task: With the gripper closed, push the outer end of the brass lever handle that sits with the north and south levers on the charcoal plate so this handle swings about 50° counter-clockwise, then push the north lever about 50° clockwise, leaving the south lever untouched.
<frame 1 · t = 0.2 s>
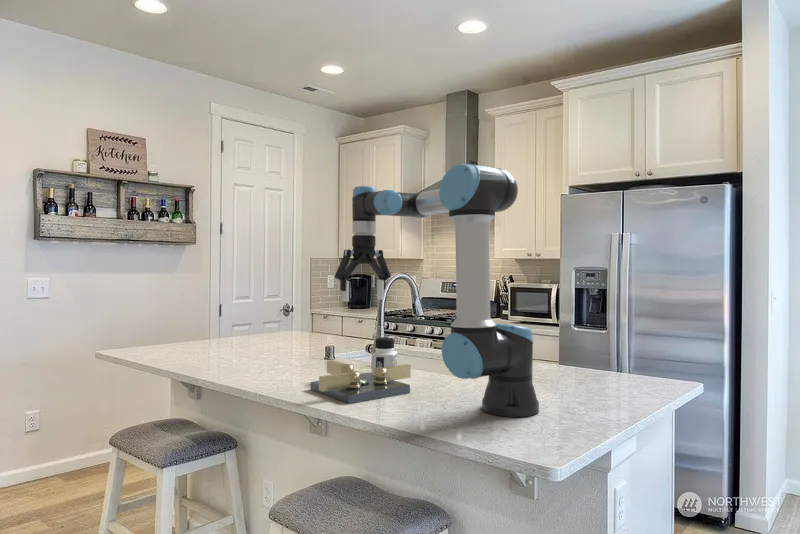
hand: (363, 300, 189), 27 cm above the countertop, fingers open, 13 cm apart
brass lever handle: (340, 369, 188), point 5 cm above the countertop, hinge at 0.0°
container: (384, 374, 206), on the countertop
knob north: (340, 381, 170), point 5 cm above the countertop, hinge at 0.0°
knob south: (392, 373, 182), point 5 cm above the countertop, hinge at 0.0°
tribrach plate: (359, 391, 179), on the countertop
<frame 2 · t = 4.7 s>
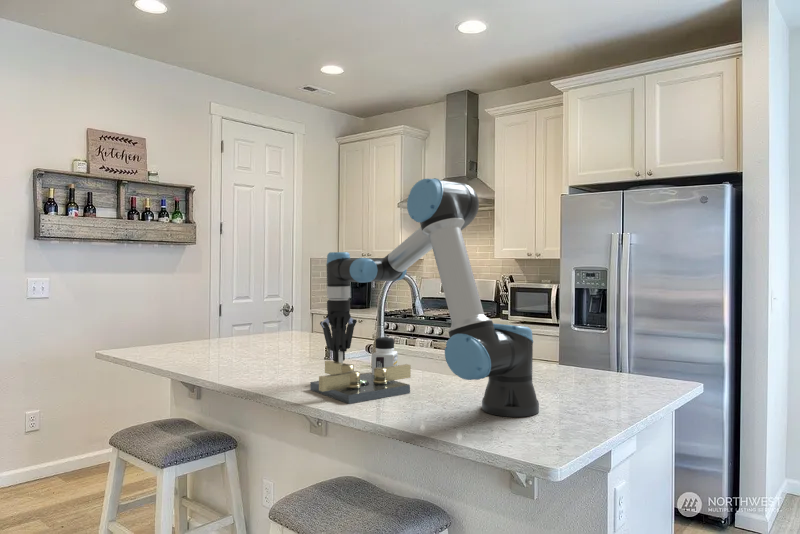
hand: (338, 371, 191), 4 cm above the countertop, fingers closed
brass lever handle: (339, 369, 188), point 5 cm above the countertop, hinge at 4.3°, touching gripper
everything else where it was.
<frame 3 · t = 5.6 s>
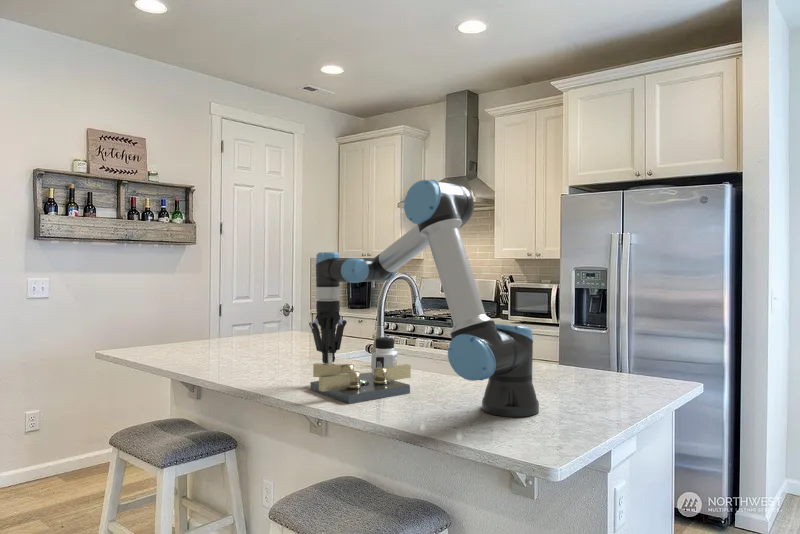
hand: (328, 372, 189), 4 cm above the countertop, fingers closed
brass lever handle: (334, 371, 186), point 5 cm above the countertop, hinge at 40.5°, touching gripper
everything else where it was.
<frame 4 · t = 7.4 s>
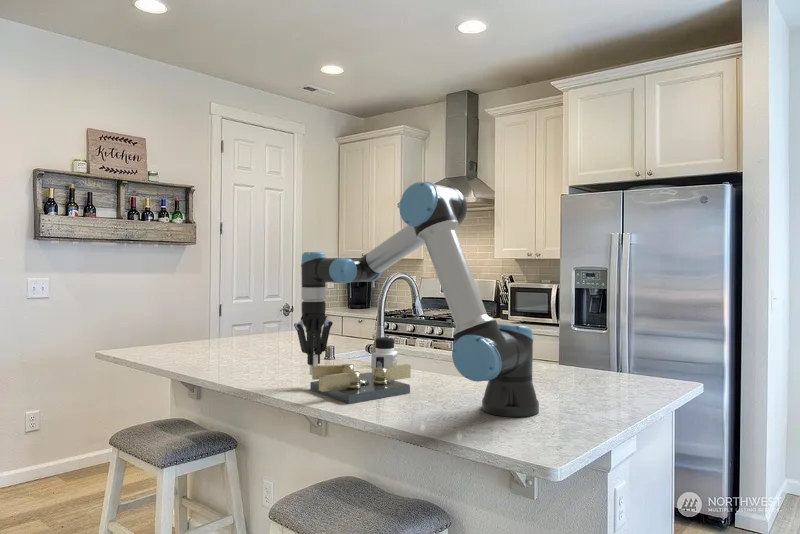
hand: (313, 374, 185), 4 cm above the countertop, fingers closed
brass lever handle: (333, 372, 184), point 5 cm above the countertop, hinge at 62.7°, touching gripper
everything else where it was.
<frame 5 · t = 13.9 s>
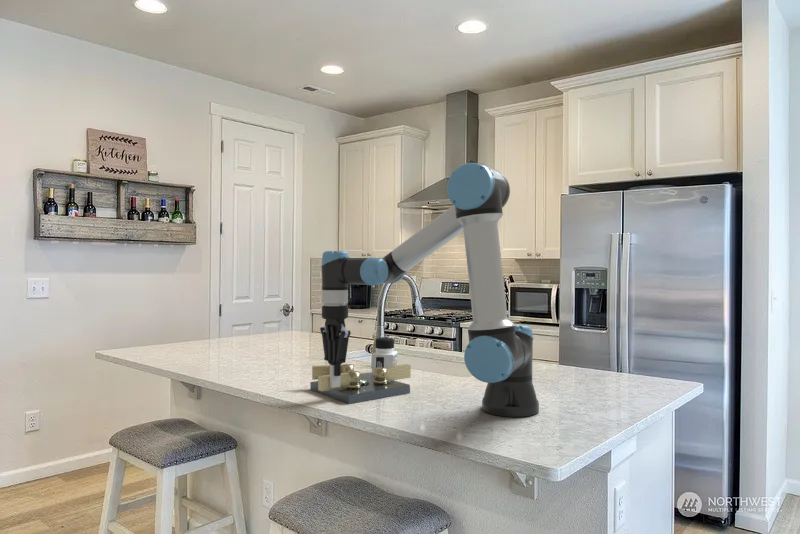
hand: (335, 386, 167), 4 cm above the countertop, fingers closed
brass lever handle: (333, 372, 184), point 5 cm above the countertop, hinge at 62.9°
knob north: (340, 381, 170), point 5 cm above the countertop, hinge at -2.9°, touching gripper
everything else where it was.
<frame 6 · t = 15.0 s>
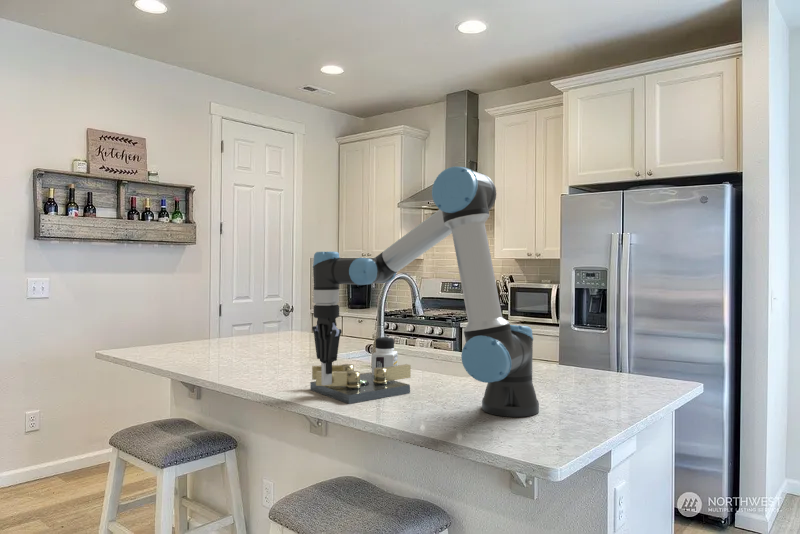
hand: (326, 384, 171), 4 cm above the countertop, fingers closed
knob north: (338, 379, 173), point 5 cm above the countertop, hinge at -44.4°, touching gripper
everything else where it was.
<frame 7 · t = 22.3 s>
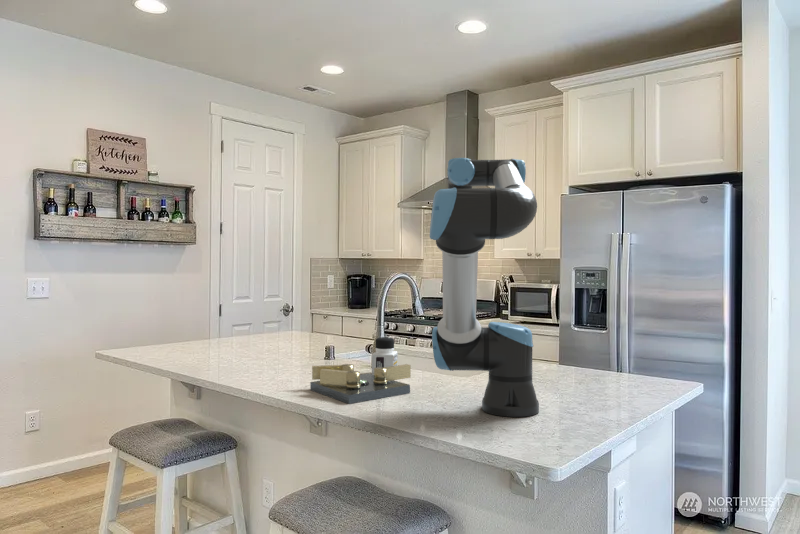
hand: (459, 286, 180), 32 cm above the countertop, fingers closed
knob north: (340, 378, 175), point 5 cm above the countertop, hinge at -63.1°
everything else where it was.
at the end: brass lever handle at +63° (first picture: +0°); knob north at -63° (first picture: +0°); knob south at +0° (first picture: +0°) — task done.
